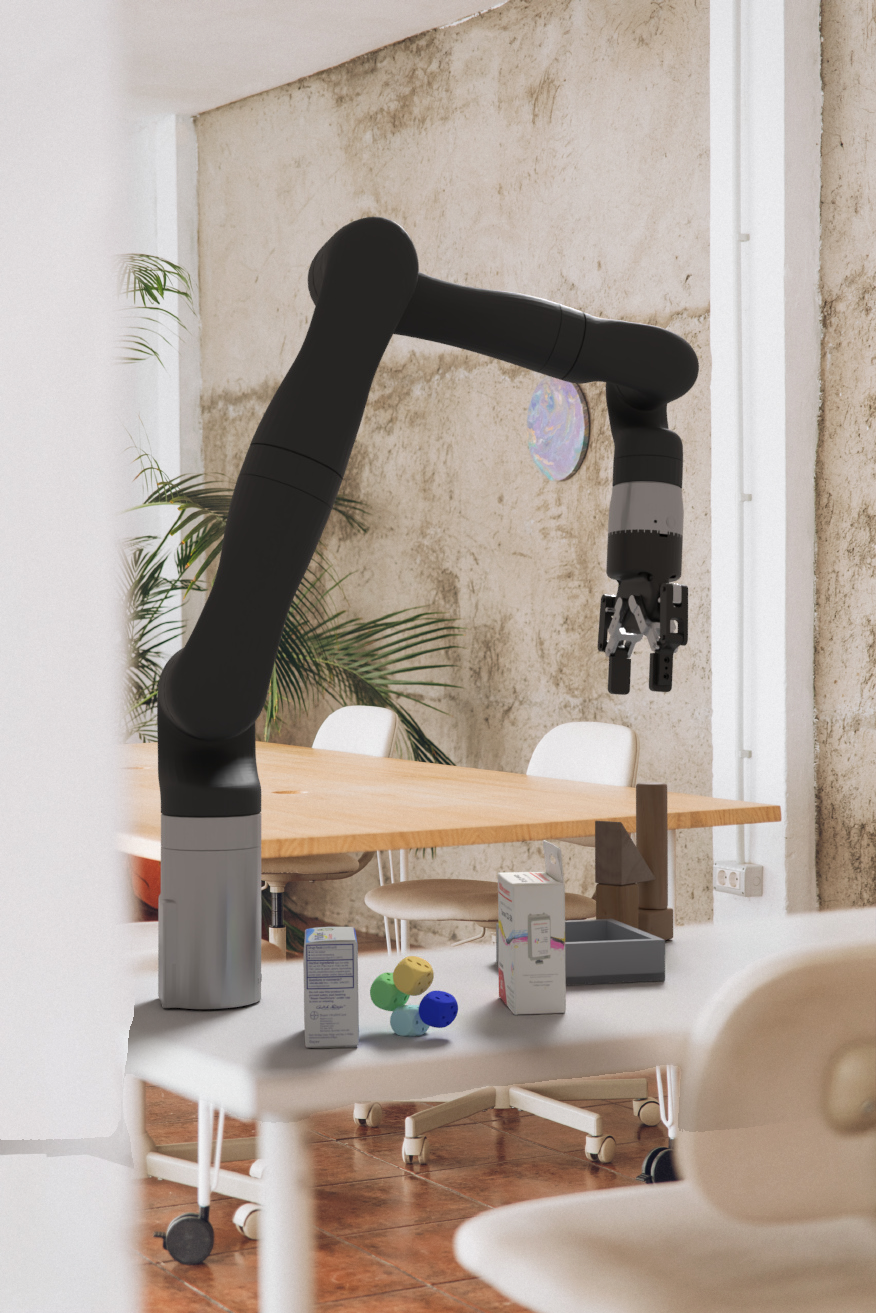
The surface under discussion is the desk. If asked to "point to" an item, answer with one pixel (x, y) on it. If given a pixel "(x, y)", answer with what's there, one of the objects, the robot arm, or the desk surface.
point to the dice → (413, 980)
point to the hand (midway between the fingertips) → (639, 693)
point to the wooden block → (636, 866)
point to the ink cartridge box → (533, 938)
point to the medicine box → (331, 987)
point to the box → (609, 953)
